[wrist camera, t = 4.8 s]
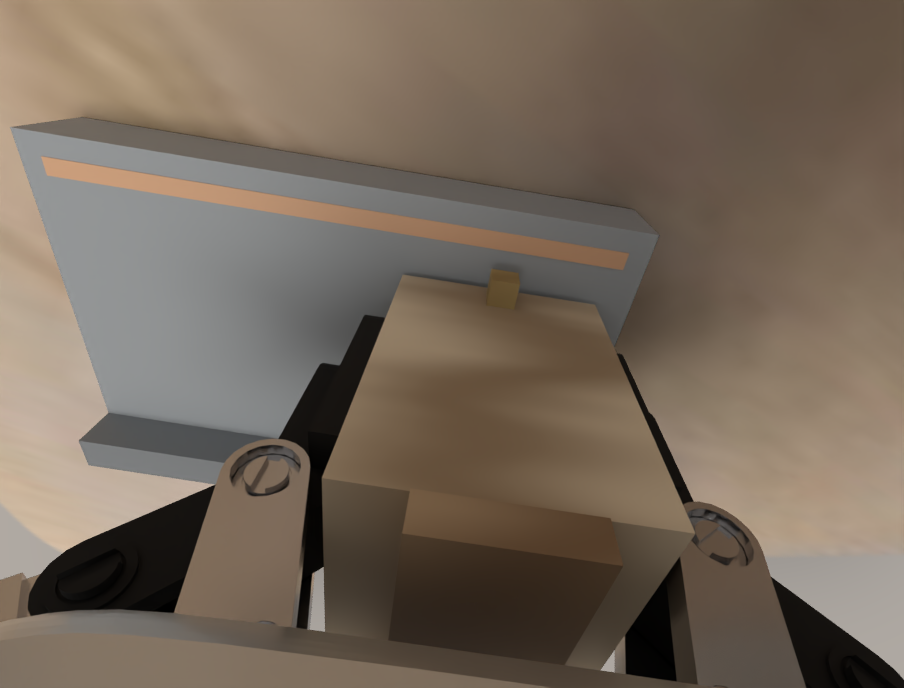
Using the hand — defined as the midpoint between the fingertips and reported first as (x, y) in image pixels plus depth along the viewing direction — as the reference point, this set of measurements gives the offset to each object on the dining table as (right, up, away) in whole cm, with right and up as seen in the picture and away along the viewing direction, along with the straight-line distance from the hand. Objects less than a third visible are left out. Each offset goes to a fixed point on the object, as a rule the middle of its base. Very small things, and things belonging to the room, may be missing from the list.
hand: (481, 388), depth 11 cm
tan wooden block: (0, 0, +1) cm, 1 cm away
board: (-4, +2, +3) cm, 5 cm away
